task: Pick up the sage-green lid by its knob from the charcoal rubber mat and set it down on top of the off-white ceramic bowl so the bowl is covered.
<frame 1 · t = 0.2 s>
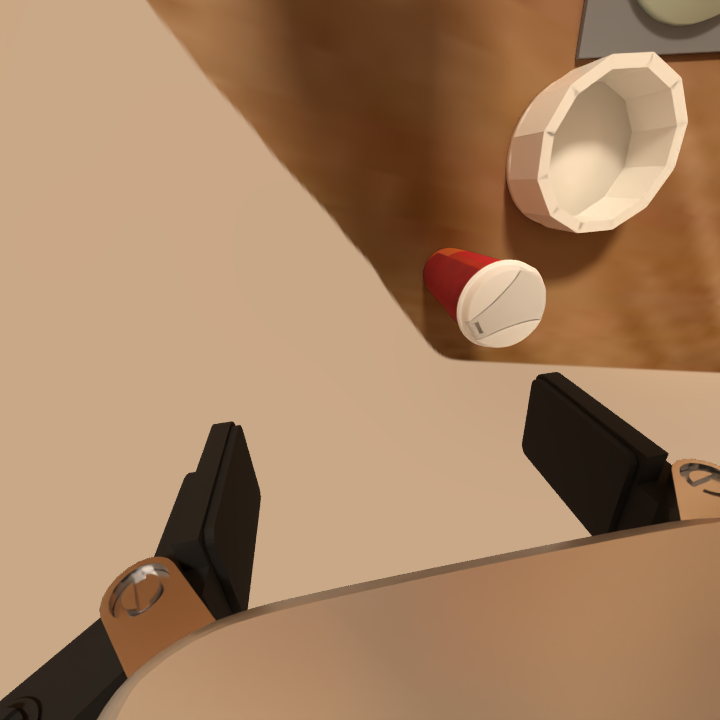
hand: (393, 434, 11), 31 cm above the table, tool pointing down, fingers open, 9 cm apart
paper cup: (446, 271, 42), on the table
bowl: (568, 154, 38), on the table
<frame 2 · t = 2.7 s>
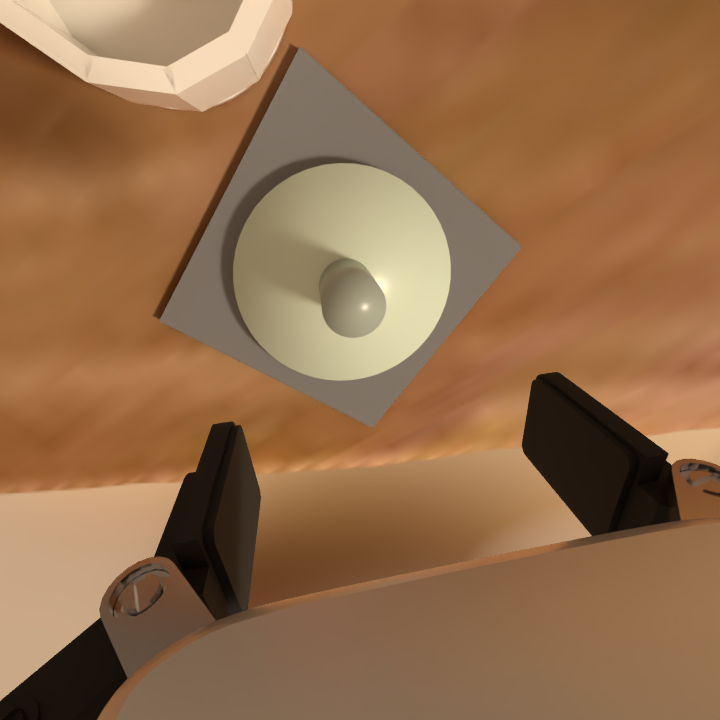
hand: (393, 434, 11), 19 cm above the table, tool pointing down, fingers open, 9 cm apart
lid: (344, 282, 27), resting on mat
mat: (344, 281, 28), on the table
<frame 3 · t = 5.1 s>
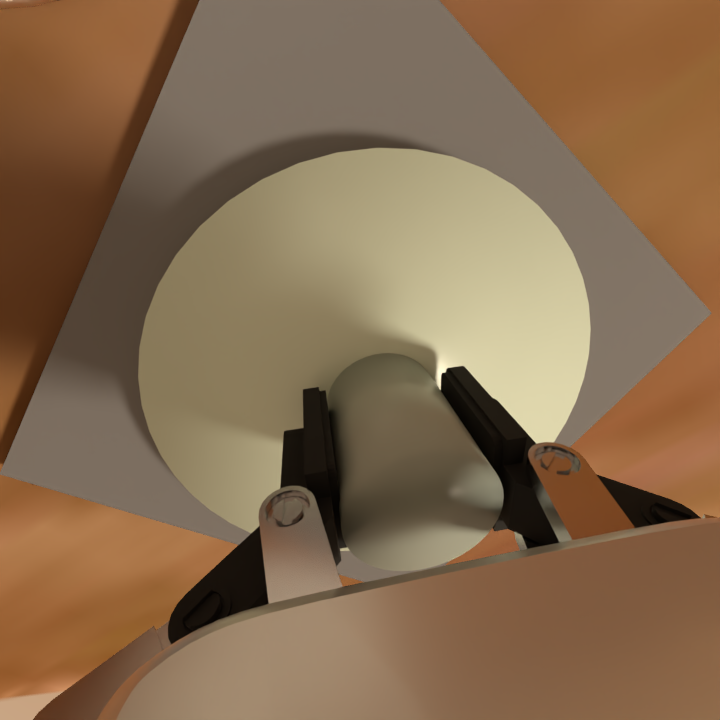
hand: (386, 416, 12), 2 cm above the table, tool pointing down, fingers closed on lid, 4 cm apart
lid: (376, 388, 14), resting on mat, touching gripper
mat: (374, 382, 14), on the table
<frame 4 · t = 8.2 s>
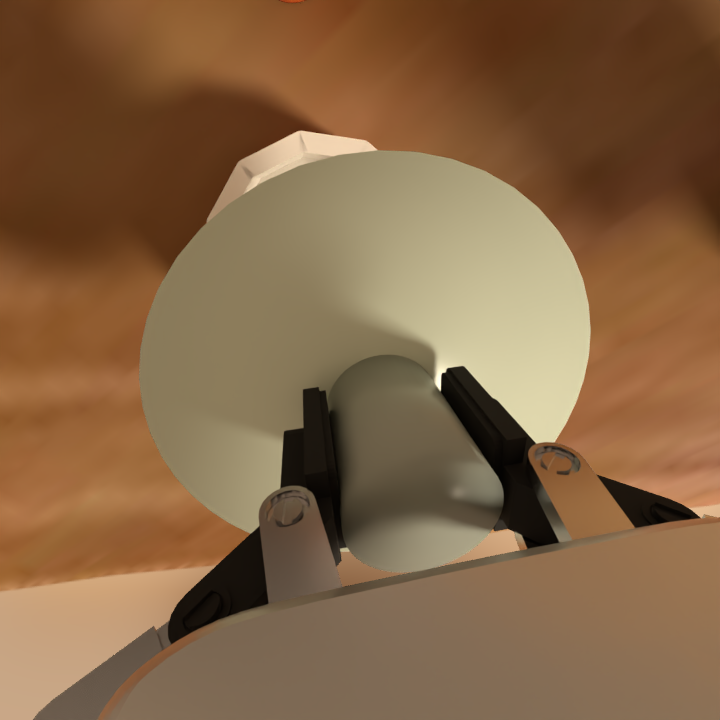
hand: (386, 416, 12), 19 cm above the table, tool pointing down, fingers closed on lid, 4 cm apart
lid: (376, 390, 14), point 18 cm above the table, touching gripper
bowl: (320, 247, 28), on the table
when the fingers open (9 cm above the table, at t = 11.1 s): lid drops 1 cm, resting on bowl.
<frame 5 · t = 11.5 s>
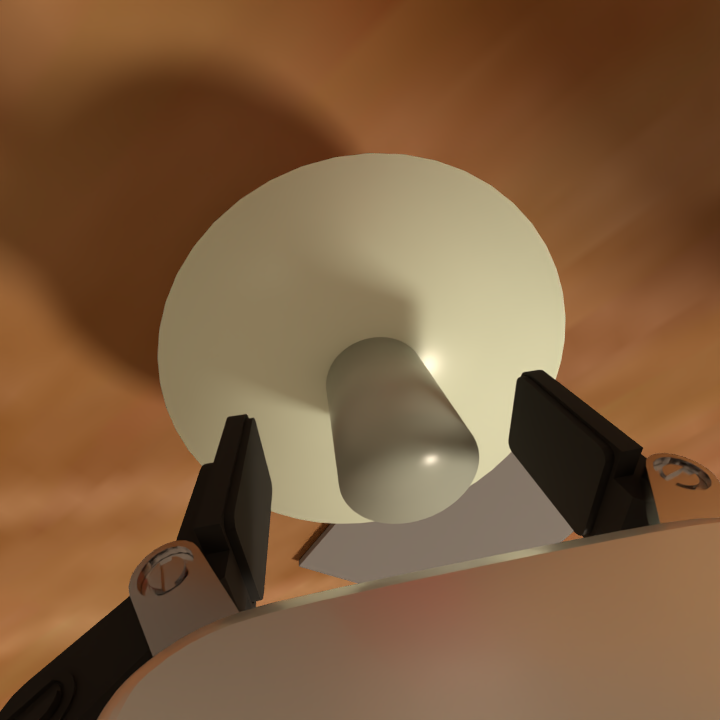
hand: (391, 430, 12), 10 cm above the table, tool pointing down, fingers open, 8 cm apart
lid: (371, 371, 15), point 6 cm above the table, touching bowl
mat: (467, 518, 30), on the table
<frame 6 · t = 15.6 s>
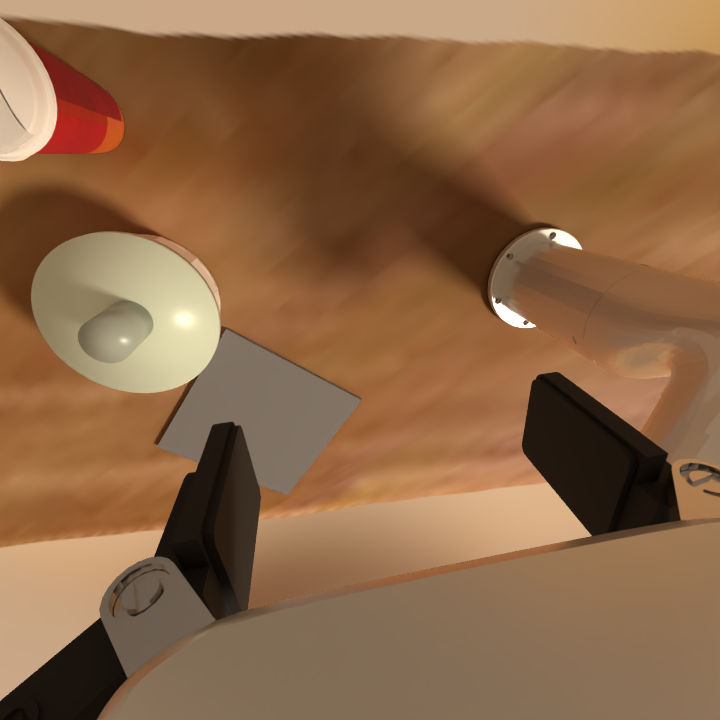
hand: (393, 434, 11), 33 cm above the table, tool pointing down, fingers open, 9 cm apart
lid: (134, 317, 35), point 6 cm above the table, touching bowl
paper cup: (92, 119, 33), on the table
bowl: (155, 299, 40), on the table
mat: (261, 421, 50), on the table
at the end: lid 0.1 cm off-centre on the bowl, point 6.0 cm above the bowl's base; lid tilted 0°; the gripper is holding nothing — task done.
